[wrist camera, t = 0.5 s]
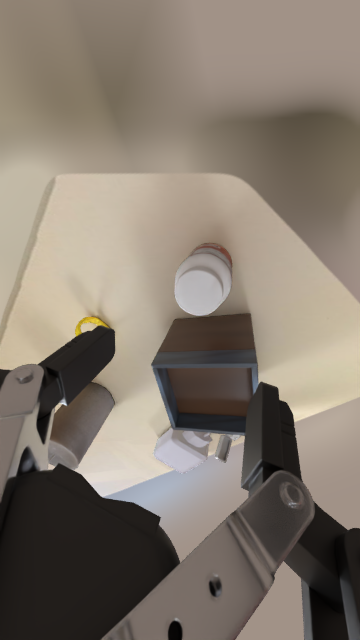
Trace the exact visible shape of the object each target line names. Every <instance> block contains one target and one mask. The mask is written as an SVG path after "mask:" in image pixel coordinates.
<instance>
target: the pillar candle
mask: <svg viewBox="0 0 360 640" xmlns="http://www.w3.org/2000/svg"><path fill="white" fill-rule="evenodd" d="M113 406H114V401H113V398H112V396H111V394H110V393H109V392H108V391H107V390H106V389H105V388H104V387H102V386H100V385H98V384H96V383H91V382H90V383H89V384H88V385H87V386H86V387H85V388H84V389H83V390H82V391H81V393H80V394H79V395H78V396H77V397H76V398H75V399H74V400H73V401H72V402H71V403H70V404H69V405H68V406H66V405H64V404H62V406H61V407H60V408H59V409H58V410H57V412H56V413H55V414H54V419H53V424H52V430H51V435H50V441H49V446H48V463H49V464H51V465H53V466H57V464H58V463H60V464H62V465H64V466H66V467H68V468H70V469H73V470H74V469H76V468H78V465H79V463H80V462H81V460H82V458H83V456H84V455H85V453H86V451H87V450H88V448H89V447H90V445H91V443H92V442H93V440H94V438H95V437H96V435H97V433H98V432H99V430H100V428H101V427H102V425H103V423H104V422H105V420H106V418H107V417H108V415H109V413H110V412H111V410H112V408H113Z"/></svg>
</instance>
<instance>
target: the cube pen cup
mask: <svg viewBox="0 0 360 640" xmlns="http://www.w3.org/2000/svg"><path fill="white" fill-rule="evenodd" d="M151 366H152V368H153V372H154V375H155V378H156V381H157V384H158V387H159V390H160V393H161V396H162V399H163V402H164V405H165V408H166V411H167V414H168V417H169V420H170V423H171V426H172V429H173V430H183V431H194V432H206V433H218V434H230V435H242V436H245V430H246V418H247V410H248V406H249V403H250V401H251V399H252V397H253V395H254V393H255V391H256V389H257V387H258V385H259V384H258V364H257V357H256V350H255V342H254V335H253V328H252V321H251V314H239V315H226V316H213V317H200V318H188V319H175V320H174V322H173V324H172V326H171V328H170V329H169V331H168V333H167V335H166V337H165V339H164V341H163V343H162V345H161V347H160V349H159V351H158V352H157V354H156V356H155V358H154V360H153V362H152V364H151Z"/></svg>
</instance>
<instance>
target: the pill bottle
mask: <svg viewBox="0 0 360 640" xmlns="http://www.w3.org/2000/svg"><path fill="white" fill-rule="evenodd" d="M231 285H232V260H231V257H230V255H229V253H228V252H227V251H226V249H224V248H223V247H222V246H220V245H218V244H214V243H206V244H202V245H200V246H198V247H197V248H195V249H194V250H193V251H192V252H191V254H190V255H189V256H188V257H187V258H186V259H185V260H184V261H183V262H182V264H181V265H180V267H179V268H178V270H177V273H176V276H175V298H176V301H177V303H178V305H179V306H180V307H181V308H182V309H183V310H184V311H186V312H187V313H189V314H192V315H197V316H203V315H207V314H210V313H212V312H213V311H215V310H216V309H217V308H218V307H219V305H220V304H221V303H222V302H224V300H225V299H226V298H227V296H228V295H229V292H230V290H231Z"/></svg>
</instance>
